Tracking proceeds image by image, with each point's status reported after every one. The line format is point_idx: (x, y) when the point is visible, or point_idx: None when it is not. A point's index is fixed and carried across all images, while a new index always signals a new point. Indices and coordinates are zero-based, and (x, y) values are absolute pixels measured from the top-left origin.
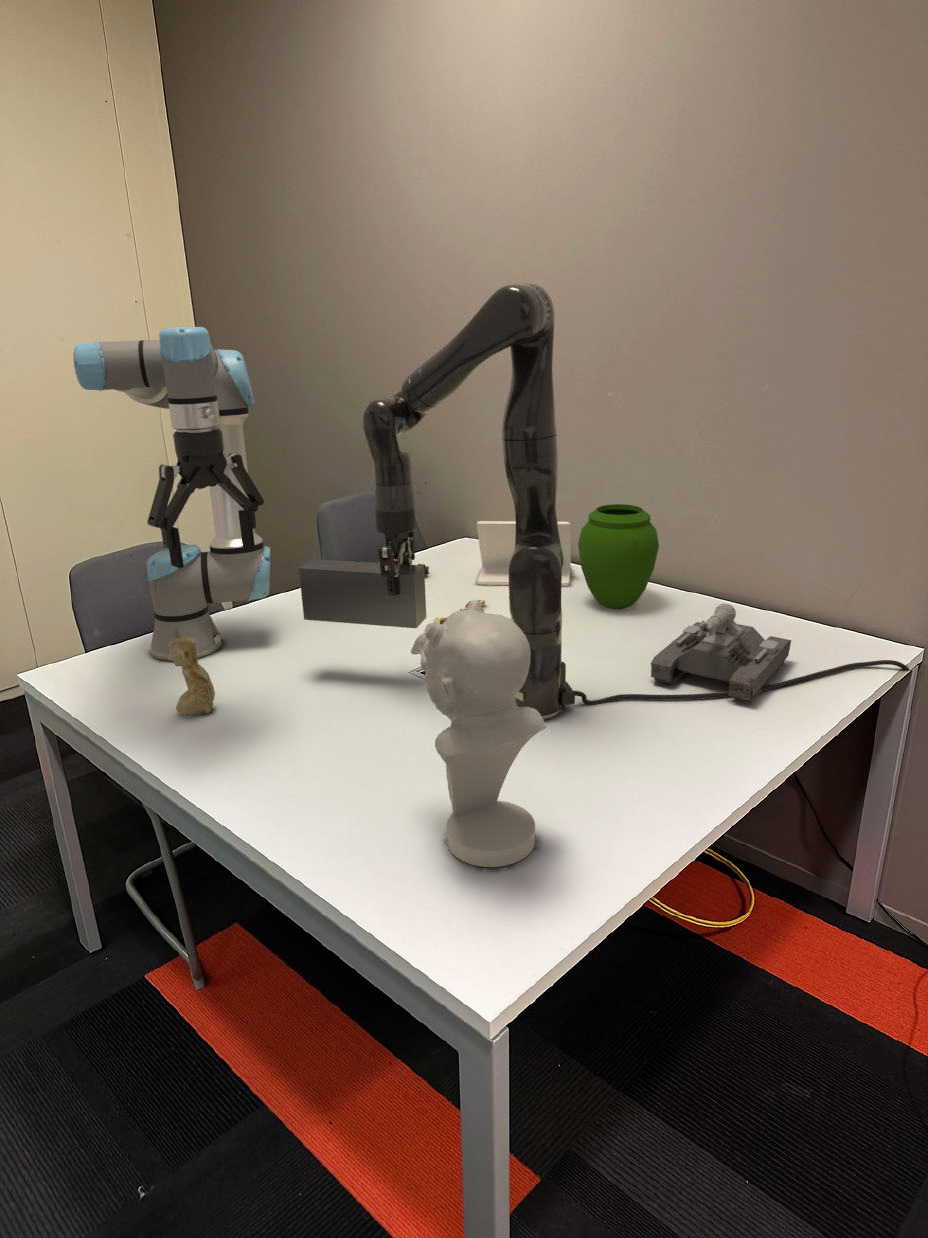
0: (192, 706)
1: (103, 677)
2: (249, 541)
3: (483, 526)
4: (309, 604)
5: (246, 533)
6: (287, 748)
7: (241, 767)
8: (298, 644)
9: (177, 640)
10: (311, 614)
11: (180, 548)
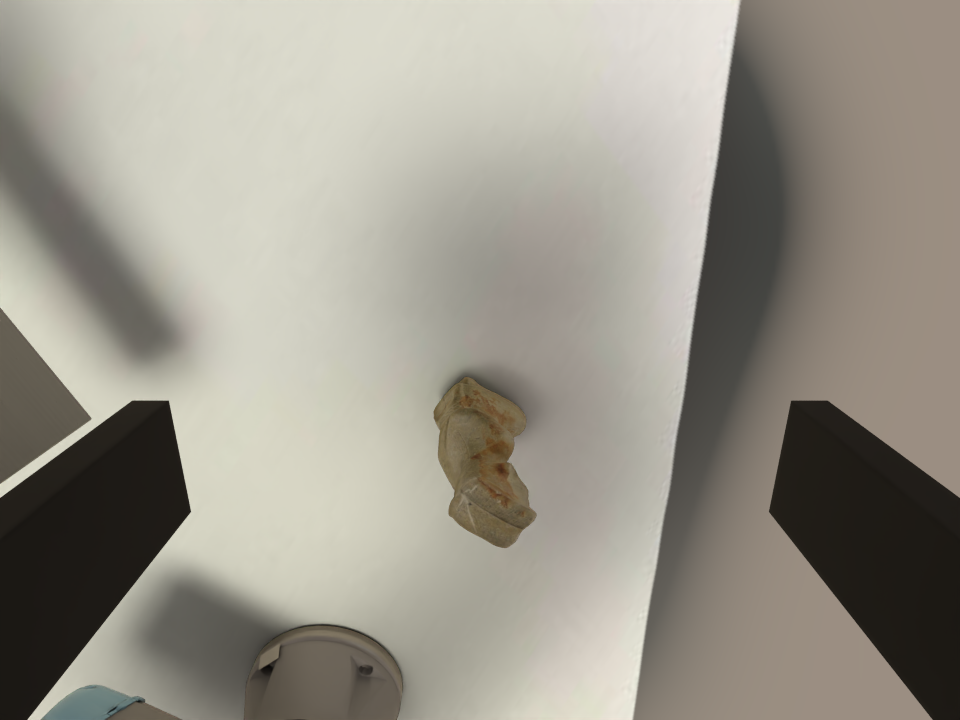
0: (501, 399)
1: (524, 677)
2: (132, 449)
3: None
4: (33, 423)
5: (97, 519)
6: (439, 71)
7: (569, 81)
8: None
9: (499, 527)
10: (57, 403)
11: (899, 486)
